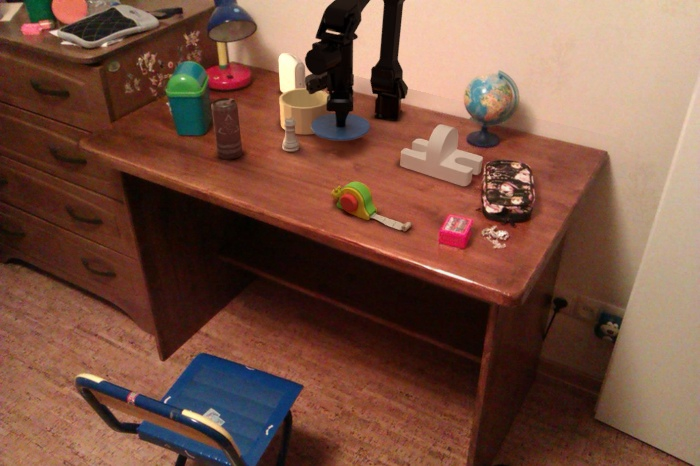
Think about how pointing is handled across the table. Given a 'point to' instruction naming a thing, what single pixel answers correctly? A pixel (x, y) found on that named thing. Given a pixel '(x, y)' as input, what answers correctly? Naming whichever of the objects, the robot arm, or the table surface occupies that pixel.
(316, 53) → the robot arm
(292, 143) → the rook chess piece
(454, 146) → the grey bracket part
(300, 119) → the tin
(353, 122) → the lid
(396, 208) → the table surface
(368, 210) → the toy measuring tape
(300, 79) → the photo printer
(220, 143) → the can
